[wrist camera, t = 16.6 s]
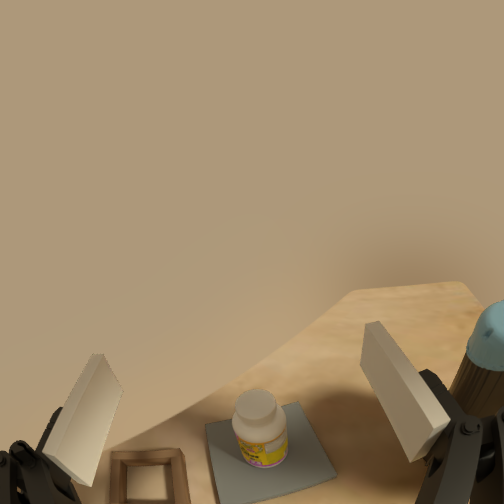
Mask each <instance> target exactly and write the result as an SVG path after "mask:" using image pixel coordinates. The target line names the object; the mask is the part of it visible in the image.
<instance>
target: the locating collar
mask: <svg viewBox="0 0 504 504" xmlns="http://www.w3.org/2000/svg"><path fill="white" fill-rule="evenodd" d="M168 464H171V467H172V479H173V489H174V497H175V504H191V500H190V494H189V487H188V480H187V472H186V464H185V456H184V454H183V453H182V451H181V450H180V448H178V449H169V450H157V451H140V452H113V453H112V465H111V480H110V504H127V466H153V465H168Z"/></svg>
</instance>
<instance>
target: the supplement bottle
mask: <svg viewBox="0 0 504 504" xmlns="http://www.w3.org/2000/svg"><path fill="white" fill-rule="evenodd" d="M235 409H236V411H235V413H234V415H233V418H232V426H233V429H234V432H235V435H236V438H237V440H238V443H239V446H240V449H241V452H242V454H243V456H244V458H245V460H246V461H247V462H248V463H249V464H251V465H253V466H255V467H259V468H269V467H273V466H276V465H278V464H279V463H280V462H282V461H283V460H284V459H285V457H286V455H287V453H288V438H287V426H286V415H285V412H284V410H283V409H282V408H281V406H279V405H278V404H277V403H276V400H275V398H274V396H273V395H272V394H271V393H270V392H268V391H266V390H262V389H253V390H249V391H246V392H244V393H243V394H241V395H240V396H239V397H238V398H237V400H236V403H235Z"/></svg>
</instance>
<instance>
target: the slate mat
mask: <svg viewBox="0 0 504 504" xmlns="http://www.w3.org/2000/svg"><path fill="white" fill-rule="evenodd" d="M281 408H282V409H283V410H284V412H285V415H286V426H287V438H288V453H287V455H286V457H285V459H284V460H283V461H282V462H280V463H279V464H278V465H276V466H273V467H269V468H259V467H255V466H253V465H251V464H249V463H248V462H247V461H246V460H245V458H244V456H243V454H242V452H241V449H240V446H239V443H238V440H237V438H236V435H235V432H234V429H233V426H232V419H230V420H225V421H220V422H215V423H209V424H205V428H206V434H207V440H208V445H209V451H210V456H211V461H212V467H213V472H214V476H215V481H216V486H217V490H218V495H219V499H220V504H252V503H256V502H261V501H265V500H269V499H273V498H277V497H280V496H284V495H287V494H291V493H294V492H297V491H300V490H303V489H306V488H309V487H312V486H315V485H318V484H320V483H323V482H326V481H328V480H331V479H333V478H336V477H337V473H336V471H335V469H334V468H333V466H332V464H331V462H330V460H329V458H328V457H327V455H326V453H325V451H324V449H323V447H322V445H321V444H320V442H319V440H318V438H317V436H316V434H315V432H314V430H313V429H312V427H311V425H310V423H309V421H308V419H307V417H306V415H305V413H304V411H303V410H302V408H301V406H300V404H299V402H295V403H291V404H288V405H285V406H281Z"/></svg>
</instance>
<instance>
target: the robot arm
mask: <svg viewBox="0 0 504 504" xmlns="http://www.w3.org/2000/svg"><path fill="white" fill-rule="evenodd" d="M466 349H467V350H466V353H465V355H464V358H463V360H462V363H461V365H460V367H459V369H458V372H457V374H456V376H455V378H454V380H453V382H452V385H451V387H450V389H449V390H448V391H447V388H446V387H445V385H444V384H442V381H441V380H440V379H439V378H438V376H437V375H436V374H435V373H433V372H431V371H430V370H428V369H425V370H423V371H420V372H417V370H416V369H415V368H414V366H413V365H412V363H411V362H410V361H409V359H408V358H407V357H406V355H405V354H404V353H403V351H402V350H401V349H400V347H399V346H398V345H397V343H396V342H395V341H394V339H393V338H392V337H391V336H390V334H389V333H388V332H387V330H386V329H385V328H384V326H383V325H382V324H381V323H380V321H376V322H372V323H368V324H365V331H364V339H363V347H362V354H361V361H360V366H361V368H362V370H363V372H364V373H365V375H366V377H367V379H368V381H369V383H370V385H371V387H372V388H373V390H374V392H375V394H376V396H377V398H378V400H379V402H380V404H381V406H382V408H383V409H384V411H385V413H386V415H387V417H388V419H389V421H390V423H391V425H392V427H393V429H394V431H395V433H396V435H397V437H398V439H399V441H400V443H401V445H402V447H403V449H404V452H405V454H406V456H407V458H408V460H409V462H410V463H411V462H413V461H416V460H418V459H420V458H422V457H423V458H424V460H425V461H426V462H427V463H426V465H425V466H428V465H429V467H428V470H427V473H426V476H425V479H424V482H423V484H422V487H421V490H420V492H419V495H418V497H417V499H416V502H415V504H468V502H469V498H470V504H504V300H502V301H500V302H497V303H494V304H492V305H490V306H489V307H488V308H486V309H485V310H484V311H483V313H482V314H481V315H480V317H479V319H478V321H477V323H476V326H475V328H474V331H473V333H472V335H471V337H470V338H469V340H468V343H467V346H466ZM122 393H123V389H122V387H121V386H120V384H119V382H118V380H117V379H116V377H115V375H114V373H113V371H112V370H111V368H110V366H109V364H108V362H107V360H106V358H105V356H104V354H92V356H91V358H90V359H89V361H88V363H87V364H86V366H85V368H84V370H83V371H82V373H81V375H80V377H79V379H78V380H77V382H76V384H75V386H74V388H73V389H72V392H71V393H70V396H69V397H68V399H67V401H66V403H65V405H64V407H59V408H58V409H57V410H56V411H55V412H54V413H53V415H52V417H51V419H50V423H48V425H47V427H46V428H47V429H45V431H44V433H43V435H42V438H41V440H40V442H39V444H38V446H37V448H36V450H35V451H34V450H33V449H32V448H31V447H30V446H29V445H28V444H27V443H26V442H25V441H22V440H19V441H16V442H14V443H13V444H12V445H11V447H10V449H9V454H8V453H7V452H6V451H0V504H82V503H81V501H80V499H79V497H78V495H77V493H76V490H75V488H74V486H73V484H72V483H71V482H70V480H71V478H72V479H74V480H75V481H76V482H78V483H79V484H83V485H86V486H89V487H92V484H93V480H94V477H95V473H96V470H97V466H98V463H99V460H100V457H101V453H102V450H103V447H104V444H105V441H106V438H107V435H108V432H109V429H110V426H111V423H112V420H113V418H114V415H115V412H116V409H117V407H118V404H119V401H120V398H121V396H122ZM17 487H19V488H20V489H21V493H19V492H18V491H17Z"/></svg>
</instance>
